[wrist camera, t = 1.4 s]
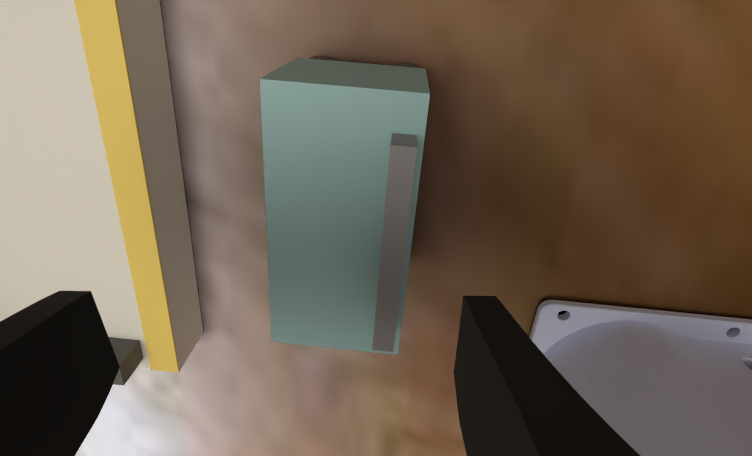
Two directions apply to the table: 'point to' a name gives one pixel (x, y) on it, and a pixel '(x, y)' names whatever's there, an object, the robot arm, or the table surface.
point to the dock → (96, 174)
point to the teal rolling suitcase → (341, 198)
